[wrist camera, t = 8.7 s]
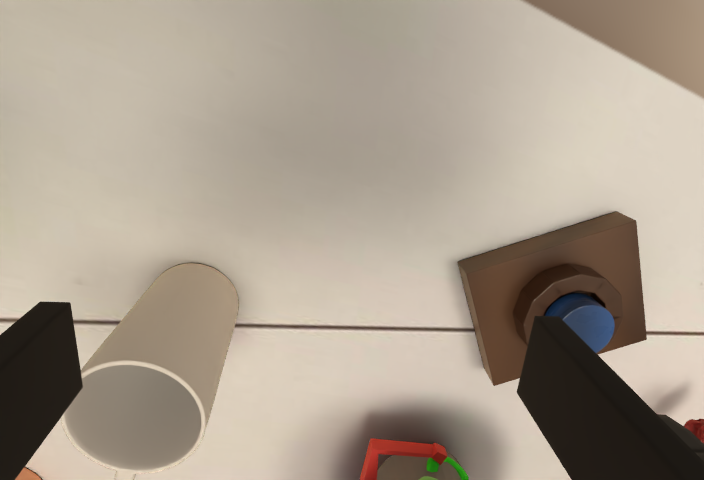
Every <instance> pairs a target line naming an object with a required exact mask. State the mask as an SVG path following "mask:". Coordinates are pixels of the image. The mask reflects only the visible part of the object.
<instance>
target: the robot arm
mask: <svg viewBox="0 0 704 480" xmlns="http://www.w3.org/2000/svg"><path fill="white" fill-rule="evenodd" d="M82 388H83V384H82V377H81V370H80V364H79V357H78V350H77V344H76V337H75V331H74V324H73V317H72V311H71V304H70V303H68V302H39V303H38V304H37V305H36V306H34V307H33V308H32V309H31V310H30V311H29V312H27V313H26V314H25V315H24V316H23V317H21V318H20V319H19V320H18V321H17V322H15V323H14V324H13V325H12V326H11V327H9V328H8V329H7V330H6V331H5V332H3V333H2V334H1V335H0V480H15V479H16V478H17V476H18V475H19V473H20V472H21V471H22V469H23V468H24V467H25V465H26V464H27V463H28V461H29V460H30V459H31V457H32V456H33V454H34V453H35V452H36V450H37V449H38V448H39V446H40V445H41V444H42V442H43V441H44V440H45V438H46V437H47V435H48V434H49V433H50V431H51V430H52V429H53V427H54V426H55V425H56V423H57V422H58V421H59V419H60V418H61V416H62V415H63V414H64V412H65V411H66V410H67V408H68V407H69V406H70V404H71V403H72V402H73V400H74V399H75V397H76V396H77V395H78V393H79V392H80V391H81V389H82ZM517 393H518V395H519V397H520V398H521V400H522V401H523V403H524V405H525V406H526V408H527V409H528V411H529V413H530V414H531V416H532V417H533V419H534V421H535V422H536V424H537V425H538V427H539V428H540V430H541V432H542V433H543V435H544V436H545V438H546V440H547V441H548V443H549V444H550V446H551V448H552V449H553V451H554V452H555V454H556V455H557V457H558V459H559V460H560V462H561V463H562V465H563V467H564V468H565V470H566V471H567V473H568V475H569V476H570V478H571V479H572V480H704V444H703V443H702V442H701V441H700V440H699V439H698V438H697V437H696V436H695V435H694V434H693V433H692V432H691V431H690V430H688V429H687V428H685V427H684V426H682V425H681V424H679V423H677V422H676V421H674V420H673V419H671V418H670V417H668V416H667V415H657V414H656V413H655V412H654V411H653V410H652V409H651V408H650V407H649V406H648V405H647V404H646V403H645V402H644V401H643V400H642V399H641V398H640V397H639V396H638V395H637V394H636V393H635V392H634V391H633V390H632V389H631V388H630V387H629V386H628V385H627V384H626V383H625V382H624V381H623V380H622V379H621V378H620V377H619V376H618V375H617V374H616V373H615V372H614V371H613V370H612V369H611V368H610V367H609V366H608V365H607V364H606V363H605V362H604V361H603V360H602V359H601V358H600V357H599V356H598V355H597V354H596V353H595V352H594V351H593V350H592V349H591V348H590V347H589V346H588V345H587V344H586V343H585V342H584V341H583V340H582V339H581V338H580V337H579V336H578V335H577V334H576V333H575V332H574V331H573V330H572V329H571V328H570V327H569V326H568V325H567V324H566V323H565V322H564V321H563V320H562V319H561V318H560V317H559V316H535V317H534V321H533V326H532V330H531V334H530V338H529V342H528V347H527V351H526V355H525V359H524V364H523V368H522V372H521V376H520V381H519V385H518V389H517Z"/></svg>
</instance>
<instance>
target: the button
mask: <svg viewBox="0 0 704 480" xmlns="http://www.w3.org/2000/svg"><path fill="white" fill-rule="evenodd" d="M545 316H559V317H560V318H561V319H562V320H563V321H564V322H565V323H566V324H567V325H568V326H569V327H570V328H571V329H572V330H573V331H574V332H575V333H576V334H577V335H578V336H579V337H580V338H581V339H582V340H583V341H584V342H585V343H586V344H587V345H588V346H589V347H590V348H591V349H592V350H593V351H594V352H595V353H597V352H599V351H600V350H601V349H603V348H604V347H605V346H606V345H607V344H608V342H609V341H610V339H611V338H612V335H613V333H614V327H615V324H614V319H613V316H612V315H611V313H610V312H609V311H608V310H607V309H605V308H604V307H603V306H602V305H601V304H599V303H598V302H597V301H596V300H595V299H593V298H592V297H591V296H589V295H586V294H581V293H573V294H568V295H566V296H563V297H561V298H559V299H558V300H556V301H555V302H554V303H553V304H552V305H551V306H550V307H549V309H548V310H547V312H546V314H545Z"/></svg>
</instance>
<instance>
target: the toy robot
mask: <svg viewBox="0 0 704 480" xmlns="http://www.w3.org/2000/svg"><path fill="white" fill-rule="evenodd" d="M378 454H386V455H392V456H391V457H390V458H388V459H387V460H386V461H385V462H384V463H383V464H382V465H381V466H380V468H379V469H378ZM377 469H378V471H377ZM360 480H468V475H467V474H466V472H465V471H464V470H463V468H462V467H461V466H460V464H459V463H458V461H457V460H456V459H455V458H454V457H453V456H452V455H451V454H449V453H448V452H446V450H445V447H444V446H441V445H439V444H437V443H435V442H434V444H425V443H415V442H404V441H394V440H383V439H372V438H370V442H369V446H368V450H367V453H366V457H365V461H364V465H363V468H362V472H361V476H360Z"/></svg>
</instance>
